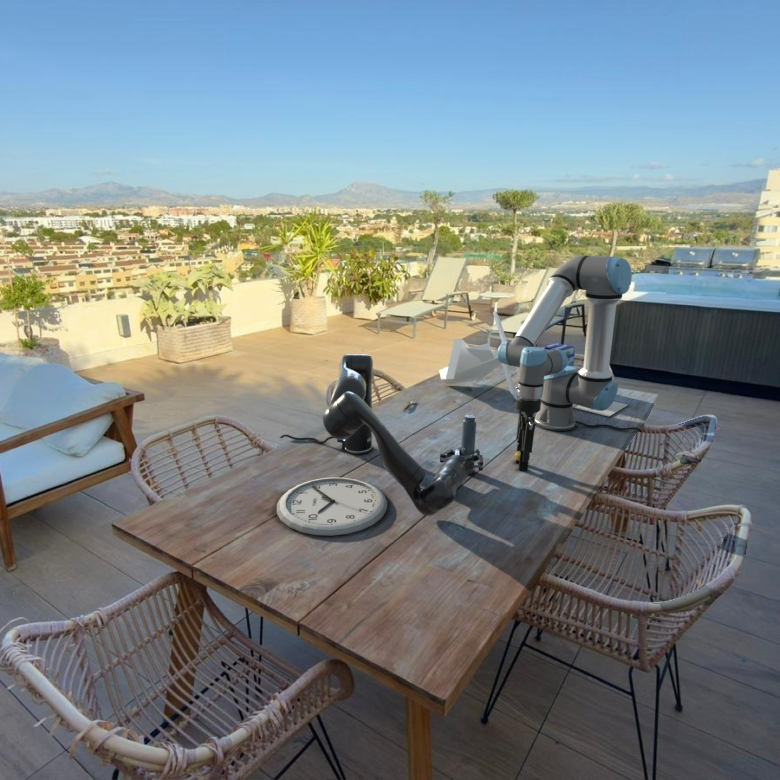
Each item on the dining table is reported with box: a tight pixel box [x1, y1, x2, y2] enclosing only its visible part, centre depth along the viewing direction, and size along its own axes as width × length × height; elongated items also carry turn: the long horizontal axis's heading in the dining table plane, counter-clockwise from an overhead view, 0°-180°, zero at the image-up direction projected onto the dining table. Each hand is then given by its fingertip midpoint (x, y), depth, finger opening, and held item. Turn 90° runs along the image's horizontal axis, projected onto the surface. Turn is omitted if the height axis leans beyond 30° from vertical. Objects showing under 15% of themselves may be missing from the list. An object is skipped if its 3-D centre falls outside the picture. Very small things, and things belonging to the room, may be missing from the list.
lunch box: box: [542, 343, 576, 367], centre depth 249 cm, size 26×11×21 cm, turn 134°
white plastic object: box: [438, 310, 520, 400], centre depth 245 cm, size 37×45×31 cm
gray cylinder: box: [460, 414, 477, 475], centre depth 161 cm, size 4×4×18 cm
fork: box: [403, 395, 419, 411], centre depth 222 cm, size 3×16×2 cm, turn 160°
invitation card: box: [573, 400, 629, 418], centre depth 226 cm, size 21×1×15 cm
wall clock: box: [276, 476, 388, 537], centre depth 142 cm, size 30×2×30 cm
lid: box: [514, 450, 531, 461], centre depth 167 cm, size 5×5×2 cm
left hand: (469, 450), depth 165 cm, fingers closed on gray cylinder, 4 cm apart
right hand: (521, 466), depth 168 cm, fingers closed on lid, 4 cm apart
